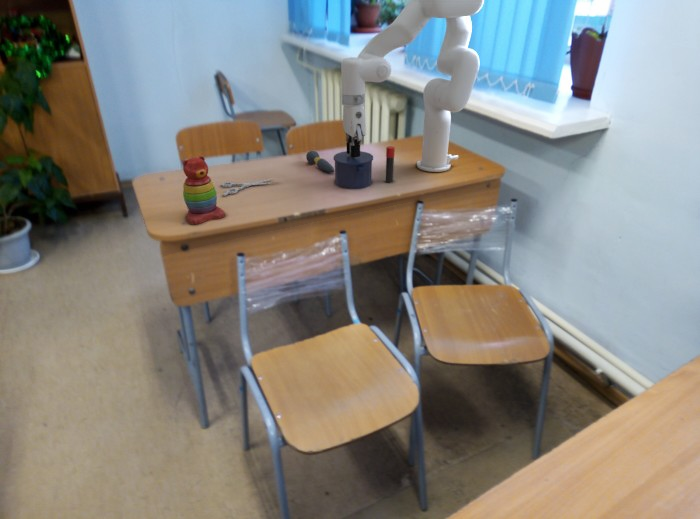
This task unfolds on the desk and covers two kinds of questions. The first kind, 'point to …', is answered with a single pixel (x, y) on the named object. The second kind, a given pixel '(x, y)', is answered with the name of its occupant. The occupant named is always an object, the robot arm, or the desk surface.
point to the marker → (389, 163)
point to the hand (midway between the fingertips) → (353, 154)
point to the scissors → (243, 185)
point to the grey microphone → (319, 161)
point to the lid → (352, 158)
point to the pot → (353, 175)
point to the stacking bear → (199, 192)
